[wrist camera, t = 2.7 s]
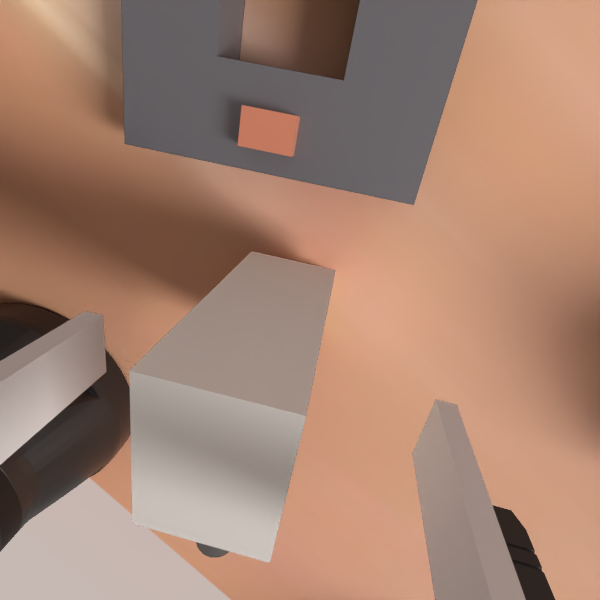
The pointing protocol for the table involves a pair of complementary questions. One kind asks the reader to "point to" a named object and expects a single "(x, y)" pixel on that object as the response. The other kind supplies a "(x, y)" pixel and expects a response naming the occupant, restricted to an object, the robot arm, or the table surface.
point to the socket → (294, 93)
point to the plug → (228, 407)
